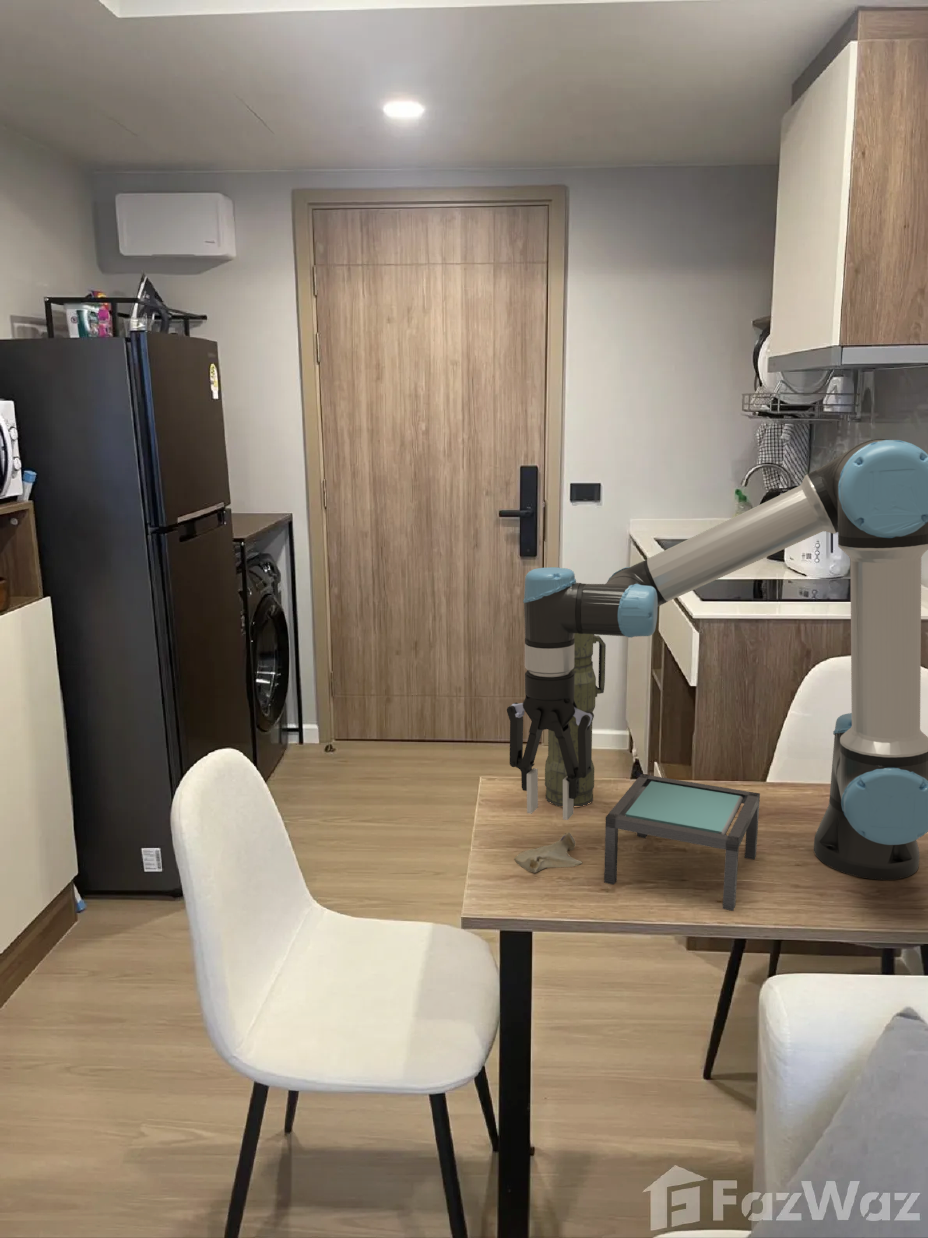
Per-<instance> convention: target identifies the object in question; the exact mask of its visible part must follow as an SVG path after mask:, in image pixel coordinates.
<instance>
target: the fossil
mask: <svg viewBox="0 0 928 1238" xmlns="http://www.w3.org/2000/svg"><path fill="white" fill-rule="evenodd" d="M575 847H576V840H575V837H573V835H572V833H570V832H566V833H564V834H563V835H562V836H561V837H560V839H559V840H557V841H556V842H553V843H552V844H548V845H544V846H540V847H538V848H533V849H527V850H525V851H522V852H520V853H519V854H517V855H516V856H515V857H514V861H515V862H516V865H518V866H519V867H521V868H523V869H525V870H526V871H528V872H531V873H534V874H535V873H537V872H539V871H542V870H544V869H550V868H552V869H553V868H575V867H576V866H580V865H583V862H582V861H581V860H578V859H576V858H574V857H572V856H571V855H569V853H568V851H574V849H575Z"/></svg>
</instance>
